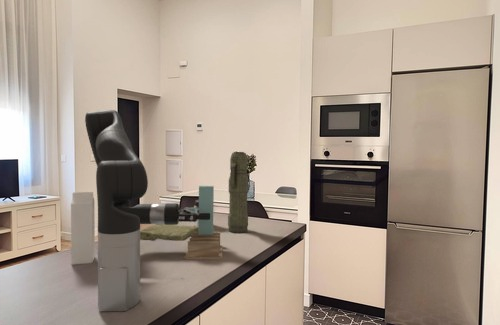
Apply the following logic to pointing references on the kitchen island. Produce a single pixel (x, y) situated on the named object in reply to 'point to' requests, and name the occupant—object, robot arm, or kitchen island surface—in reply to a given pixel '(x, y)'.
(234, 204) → the thermos
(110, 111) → the robot arm
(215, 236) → the walnut offcut
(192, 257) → the beech rack
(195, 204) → the jar
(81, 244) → the milk
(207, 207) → the teal board
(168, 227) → the decorative tile
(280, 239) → the kitchen island surface
